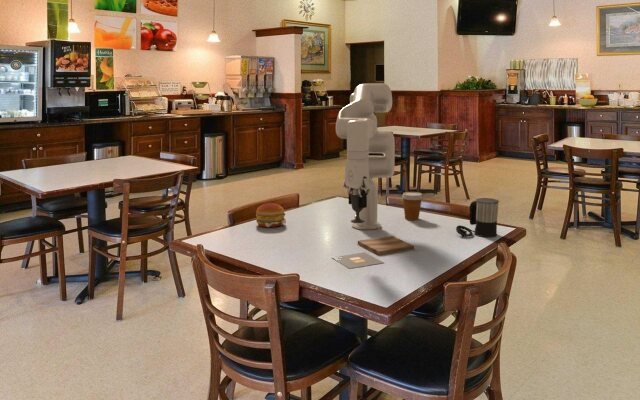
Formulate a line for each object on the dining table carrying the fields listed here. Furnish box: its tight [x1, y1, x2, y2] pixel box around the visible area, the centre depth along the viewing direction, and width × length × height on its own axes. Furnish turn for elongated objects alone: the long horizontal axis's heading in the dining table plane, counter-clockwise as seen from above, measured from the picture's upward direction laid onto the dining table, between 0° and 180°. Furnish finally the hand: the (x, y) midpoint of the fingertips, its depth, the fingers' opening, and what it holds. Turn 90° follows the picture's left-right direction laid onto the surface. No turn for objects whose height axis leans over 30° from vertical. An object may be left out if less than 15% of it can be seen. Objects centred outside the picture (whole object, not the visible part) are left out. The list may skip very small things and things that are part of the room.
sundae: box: [348, 189, 365, 224], centre depth 204 cm, size 7×7×15 cm
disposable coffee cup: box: [401, 191, 423, 221], centre depth 268 cm, size 10×10×12 cm
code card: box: [336, 251, 385, 269], centre depth 208 cm, size 14×14×1 cm
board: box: [357, 235, 415, 256], centre depth 225 cm, size 16×16×2 cm
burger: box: [255, 202, 287, 228], centre depth 259 cm, size 14×14×10 cm
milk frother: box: [455, 197, 500, 238], centre depth 239 cm, size 14×16×15 cm
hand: (357, 205), depth 204 cm, fingers closed on sundae, 6 cm apart
